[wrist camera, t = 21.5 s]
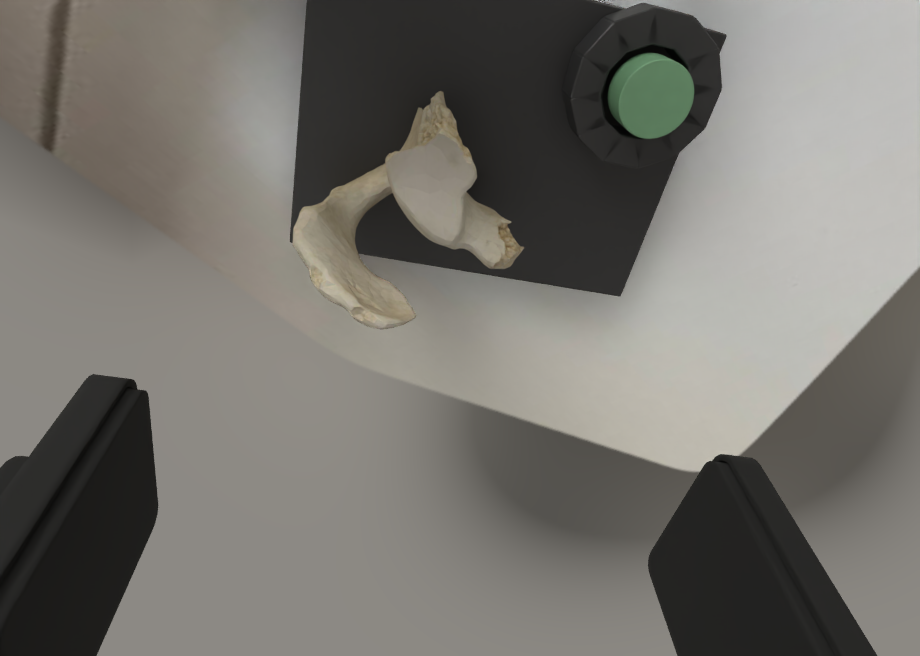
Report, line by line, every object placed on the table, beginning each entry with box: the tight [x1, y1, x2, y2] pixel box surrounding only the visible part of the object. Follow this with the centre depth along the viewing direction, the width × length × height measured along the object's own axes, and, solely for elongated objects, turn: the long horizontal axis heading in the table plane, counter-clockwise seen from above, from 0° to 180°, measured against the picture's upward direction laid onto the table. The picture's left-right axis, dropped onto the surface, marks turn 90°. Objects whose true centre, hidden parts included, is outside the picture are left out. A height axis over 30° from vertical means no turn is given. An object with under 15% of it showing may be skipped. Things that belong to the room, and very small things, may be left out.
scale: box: [290, 0, 726, 296], centre depth 25 cm, size 16×12×3 cm
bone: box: [293, 91, 524, 329], centre depth 23 cm, size 9×6×10 cm
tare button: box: [608, 52, 694, 139], centre depth 23 cm, size 3×3×2 cm
